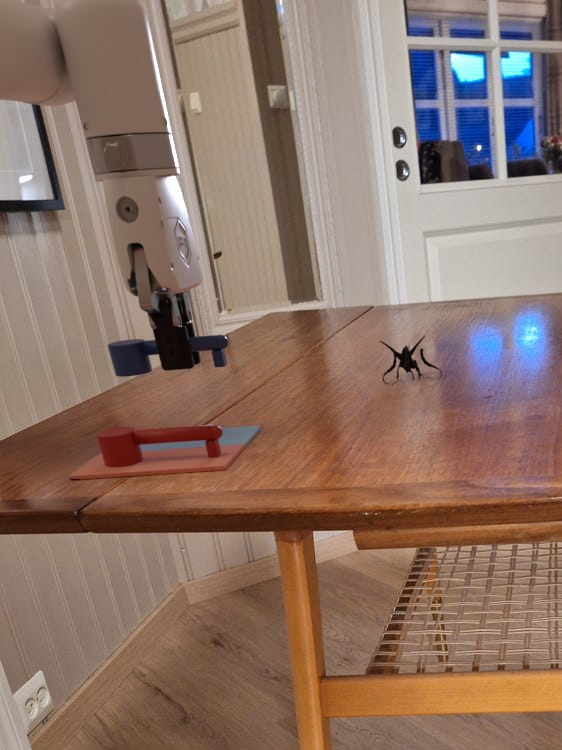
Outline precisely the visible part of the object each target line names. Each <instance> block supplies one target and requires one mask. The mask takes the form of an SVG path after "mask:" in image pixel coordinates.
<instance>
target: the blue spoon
mask: <svg viewBox="0 0 562 750" xmlns="http://www.w3.org/2000/svg"><path fill="white" fill-rule="evenodd" d="M189 341H190V345H191V350H192V352H197V351H199V352H207V351H208V352H209V351H211V356H212V360H213V365H214V368H225V367H226V366H228V362H227V356H226V351H225V350H226V349H227V348H228V346H229V339H228V337H227V336H225V335H224V334H212V335H201V336H196V337H189ZM107 349H108V353H109V356H110V359H111V363H112V367H113V370H114V375H115V376H116V377H121V378H124V377H125V378H127V377H136V376H141V375H146V374H148V373H151V372H152V371H153V365H152V362H151V358H150V356H157V355H158V356H159V354H158V350H157V345H156V341H155V339H151V340H149V339H148V340H145V339H142V338H134V339H124V340H120V341H119V340H118V341H114V342H111V343H108V344H107Z"/></svg>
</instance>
